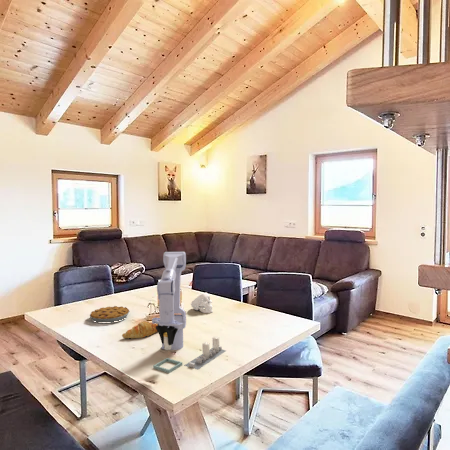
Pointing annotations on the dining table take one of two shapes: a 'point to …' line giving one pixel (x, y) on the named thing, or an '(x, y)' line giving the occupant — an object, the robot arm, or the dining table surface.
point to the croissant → (141, 330)
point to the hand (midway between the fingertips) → (167, 343)
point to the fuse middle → (206, 350)
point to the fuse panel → (204, 359)
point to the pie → (109, 314)
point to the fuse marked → (166, 342)
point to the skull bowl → (202, 303)
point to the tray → (165, 368)
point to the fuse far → (216, 344)
